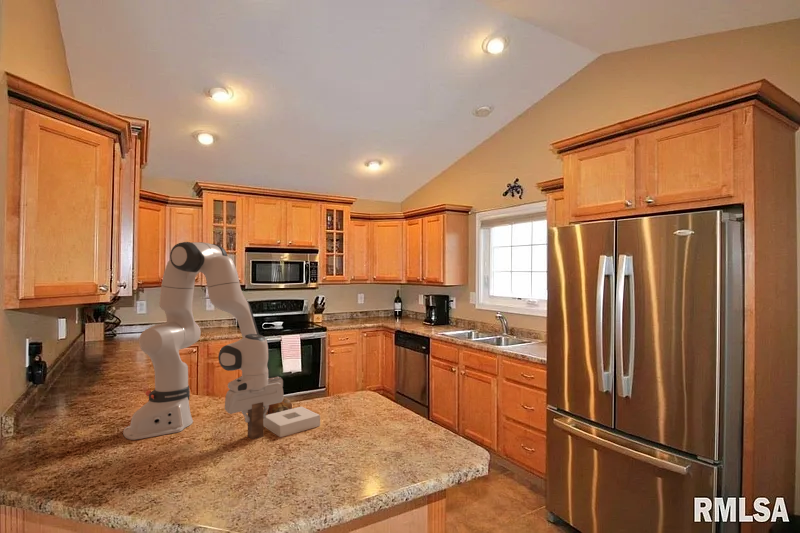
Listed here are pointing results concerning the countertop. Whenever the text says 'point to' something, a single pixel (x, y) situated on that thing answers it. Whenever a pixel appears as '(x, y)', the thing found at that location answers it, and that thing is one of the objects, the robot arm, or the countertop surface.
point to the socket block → (291, 421)
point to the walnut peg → (256, 421)
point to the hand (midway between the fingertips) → (255, 420)
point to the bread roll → (280, 406)
